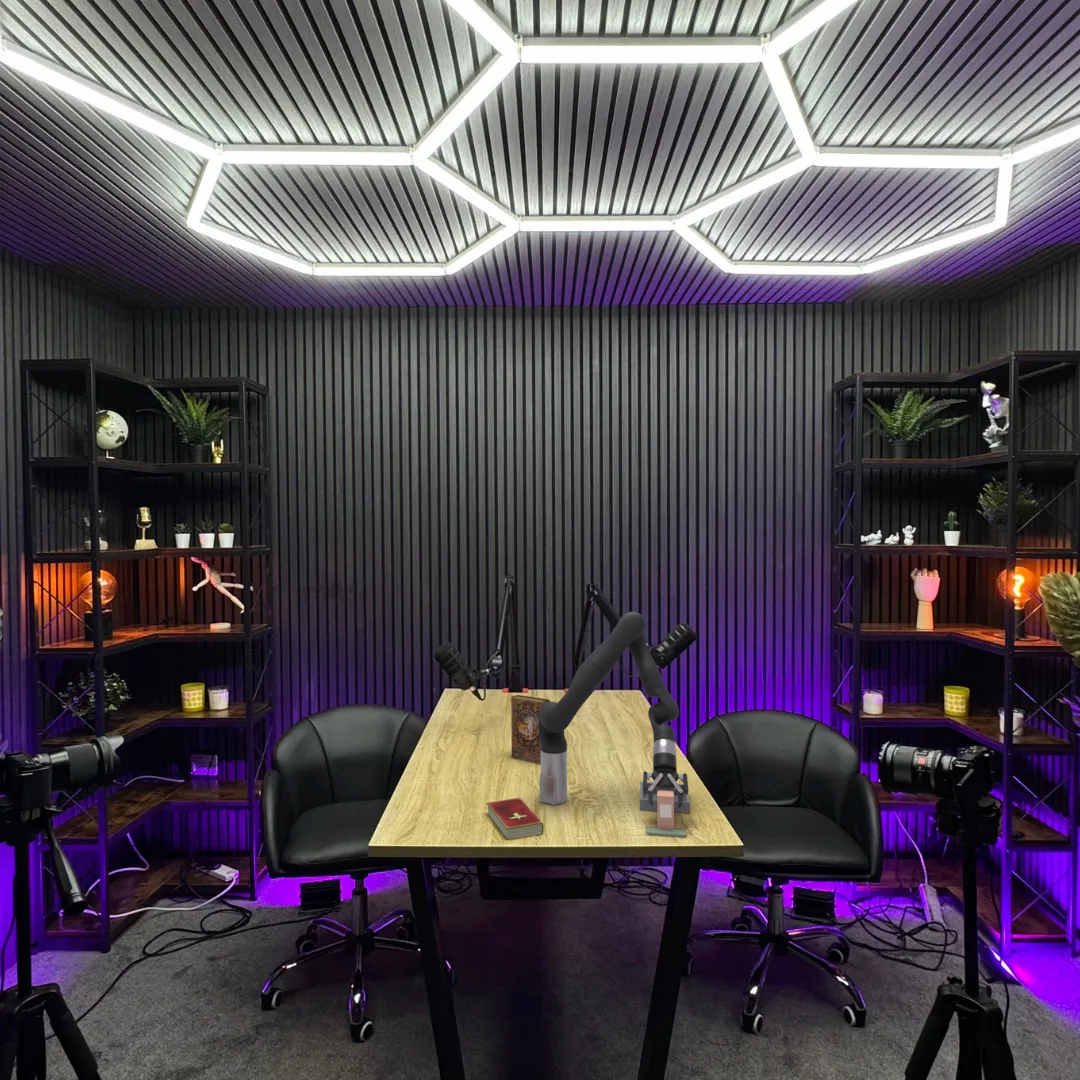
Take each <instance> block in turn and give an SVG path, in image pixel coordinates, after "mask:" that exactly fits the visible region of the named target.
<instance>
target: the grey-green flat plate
mask: <svg viewBox="0 0 1080 1080" xmlns="http://www.w3.org/2000/svg"><path fill="white" fill-rule="evenodd" d="M645 827H646V830H645V835H646V834H649V835H648V836H654V835H659V836H658V837H670V838H671V837H672V838H685V839H686V838H687V831H686V828H677V827H674V829H665V828H657V826H645Z"/></svg>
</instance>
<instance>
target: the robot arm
mask: <svg viewBox="0 0 1080 1080" xmlns="http://www.w3.org/2000/svg"><path fill="white" fill-rule="evenodd" d="M645 629H646V620H645V618H644V616H643V615H642V614H641V613H639V612H637V611H629V612H626V613H624V614H623V615H622V616H621V617H620V618H619V621H618V622H617V624H616V626H614V628H613V630H612V632H610V634H609V635H608V636H607V638H606V639H604V641H603V642H602V643H601V644H599V645H598V646H597V647H596V648H595V650H593V651H592V653H591V654H590V655H589V656H588V657H587V658H586V659H585V660H584V661H583V662H582V664H580V666H579V668H578V669H577V670H576V672H575V674H574V676H573V679H572V681H571V683H570V685H569V688H568V690H567V691H566V692H565V694H564V695H563V696H562V697H561V698H560V699H559V700H558V701H550V702H547V703H545V704H544V705H543V706H542V707H541V709H540V711H539V717H538V725H539V741H540V747H541V764H540V773H539V802H541V803H544V804H549V805H553V806H556V805H560V804H563V803H567V801H568V743H567V739H566V735H565V730H566V729H567V728H568V727H569V725H570V723H571V722H572V721H573V719H574V718H575V716H576V715H577V714H578V712H579V710H580V709H581V708H582V707H583V705H584V704H585V703H586V702H587V700H588V699H589V698H590V697H591V695H592V694H593V693H594V692H595V691H596V690H597V688H598V687H599V686H600V685H601V684H602V683H603V682H604V681H605V680H606V678H607V677H608V675H609V674H610V672H612V670H613V668H614V667H615V666H616V664H617V663H618V661H619V659H620V657H621V656H622V654H623V653H624V652H625V651H626V649H627V648H628V650H629V651H630V653H631V656H632V658H633V661H634V664H635V666H636V669H637V673H638V675H639V679H640V681H641V684H642V687H643V689H644V693H645V694H646V696H647V697H648V698H654V697H655V698H658V699H659V700H660V702H657V703H656V702H655V703H654V704H651V705H650V706H649V709H648V713H647V716H648V719H649V722H650V726H651V729H652V732H653V733H652V734H653V746H652V772H647V771H646V770H644V771H643V774H642V782H643V792H647V793H648V802H649V804H651V806H653V792H654V791H655V790H656V789H657V788H658V786H659V787H660V788H671V787H672V788H673V789H674V790H675V791H676V792H677V793H678V807H679V808H681V806H682V805H683V795H685V794H686V795H687V794H688V795H689V782H688V774H687V773H685V772H684V773H683V774H678V770H677V749H676V748H677V747H676V739H675V738H676V737H675V736H676V735H675V733H676V732H675V729H674V728H673V727H672V726H671V725H668V724H666V723H668V722H669V723H670V722H672V721H675V720H677V719H678V718H679V715H680V709H679V706H678V704H677V702H676V701H675V699H674V698H673V697H672V695H671V694H670V692H669V691H668V689H667V688H666V686H665V684H664V681H663V678H662V675H661V672H660V670H659V668H658V666H657V664H656V662H655V660H654V659H653V656H652V655H651V653H650V651H649V647H648V644H647V642H646V637H645V632H644V631H645ZM650 779H653V783H652V785H651V786H650V787H647V782H648V781H649V780H650ZM678 780H680V781H681V783H682V784H683V785H684V789H681V788H680V786H679V785H678V784H679V783H678V782H677V781H678Z"/></svg>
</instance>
